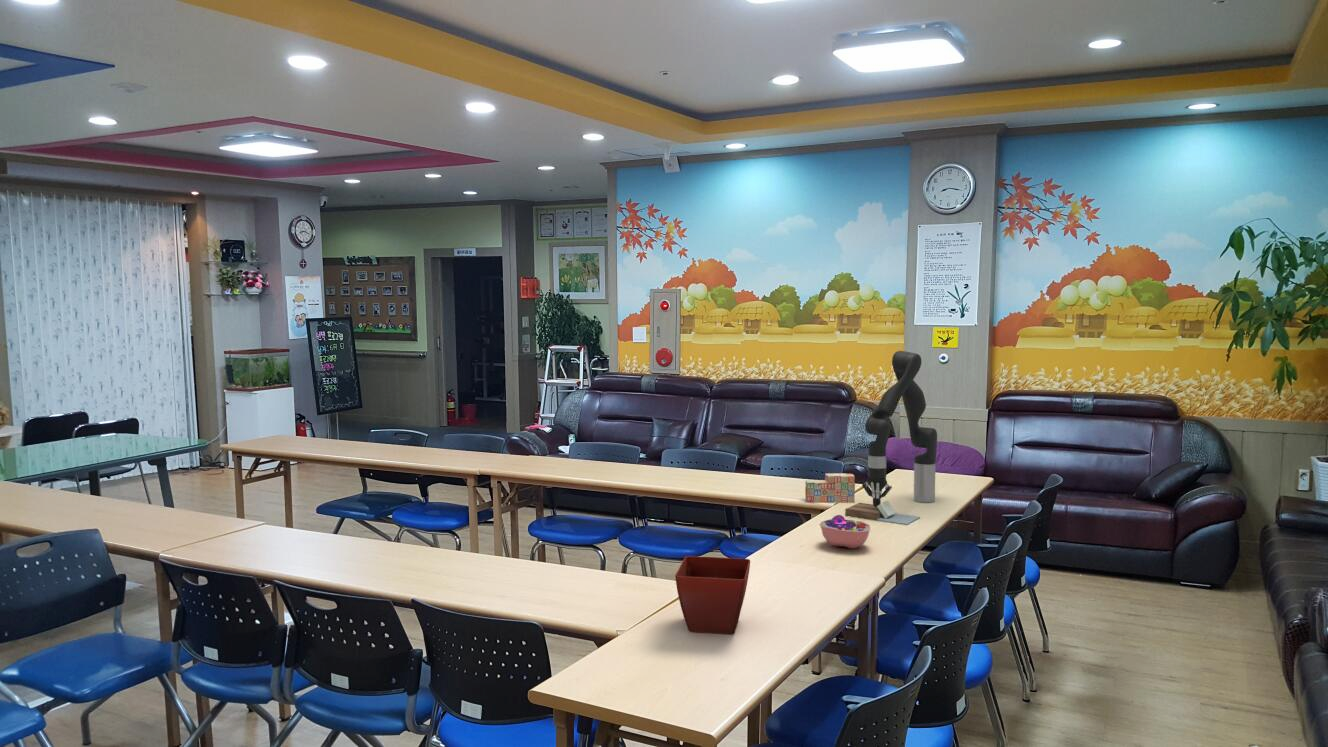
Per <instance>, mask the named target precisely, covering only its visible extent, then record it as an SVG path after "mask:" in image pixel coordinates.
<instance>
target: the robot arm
mask: <svg viewBox="0 0 1328 747" xmlns="http://www.w3.org/2000/svg"><path fill="white" fill-rule="evenodd" d="M891 365H892V369H893V372H894V376H895V377H896V380H897V382H896V383H894V384H893V385H892V386H891V387H890V388H888V389H886V391H885V392H884V394H883V395H882V396H881V399H880V401H879V403H878V406H877V407H876V408H875V409H874V411H873V412H872V413H871V414H870V415H869V417H868V418H867V420H866V421H865V425H864V428H865V432H866V433H867V434H869V435H872V436H875V437H876V438H875V440H872V441H870V442H868V457H867V479H866V481H865V482H864V483H861V486H862V488H863V490H865V493H867V495H868V496H869V497H871V498H872V504H873V505H874V507H877V506H878V505H880V504H881V503H882V501H881V499H883V498H884V497H886V496H887V495H888V493H889V492H890V491H891V490H892V489H893V486H892V485H889V484H888V480H887V457H886V456H887V444H888V441H889V437H890V434H891V425H890V423H889V421H888V420H886V419H887V418H891V417H892V416H893V415H894V413H895V411H896V410H897V407H898V404H899V403H900V401H901V398H902V402H903V406H904V410H905V414H906V417H907V423H908V430H909V437H910V441H911V445H912V446H913V447H915V448H919V449H926V451H925V452H923V453H921V454H917V455H915V456H914V459H913V464H914V465H913V469H914V470H913V501H914V502H918V503H934V502H935V501H936V464H937V463H936V460H937V449H938V448H937V445H938V432H937V430H936V429H935V428H934V427H933V428H932V427H922V426H920V424H919V421H920V419H921V417H922V416H923V414H924V412H925V411H926V408H927V407H926V406H927V403H926V398H925V394H924V392H923V390H922V389H921V387H920V385H918V383H917V382H915V380H914V379H915V378H916V376H917V375H918V373H919V371H920V370H921V367H922V357H921V355H920V354H918V353H916V352H915V353H914V352H911V351H910V352H909V351H904V350H897V351H895V352H894V353H893V355H892V360H891ZM883 490H884V491H883Z"/></svg>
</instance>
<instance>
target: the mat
mask: <svg viewBox="0 0 1328 747" xmlns="http://www.w3.org/2000/svg"><path fill="white" fill-rule="evenodd" d="M920 519H921V516H916V515H909V514H903V513H897V512H896V513H895V514H893V515H891V516H889V517H888V518H886V519H885V518H884V516H883V517H881V518H879V519H877V521H878V522H884V523H891V524H897V525H902V526H904V525H905V526H908V525H910V524H912V523H914V522H916V521H917V520H920ZM877 521H876V522H877Z"/></svg>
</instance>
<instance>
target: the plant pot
mask: <svg viewBox="0 0 1328 747" xmlns="http://www.w3.org/2000/svg"><path fill="white" fill-rule="evenodd" d="M750 566H751V559H749V558H736V557H735V558H734V557H716V556H715V557H714V556H696V555H686V556H684V558H683V560H682V562H681V564H680V566H679V567H678V569H677V571H676V573H675V584H676V591H677V595H678V601H679V604H680V609H681V612H682V615H683V618H684V622H685V625H686V627H687V630H688V631H689V632H690V633H691V632H693V633H708V634H720V635H721V634H724V635H734V634H735V633H736V630H737V627H738V623H739V620H740V615H741V611H742V607H743V605H744V601H745V596H746V591H747V585H748V580H749V575H750V569H751V568H750Z"/></svg>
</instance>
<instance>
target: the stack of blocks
mask: <svg viewBox="0 0 1328 747" xmlns="http://www.w3.org/2000/svg"><path fill="white" fill-rule="evenodd" d="M824 478H825V479H805V489H804V490H805V492H804V493H805V501H806V503H815V504H816V503H818V504H819V503H829V504H830V503H831V504H832V503H835V504H836V503H839V504H840V503H841V504H842V503H843V504H845V503H846V504H850V503H851V504H854V503H855V491H856V490H855V489H856V483H855V480H856V477H855V475H854V474H853V473H844V472H843V473H842V472H841V473H840V472H839V473H825V476H824Z"/></svg>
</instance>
